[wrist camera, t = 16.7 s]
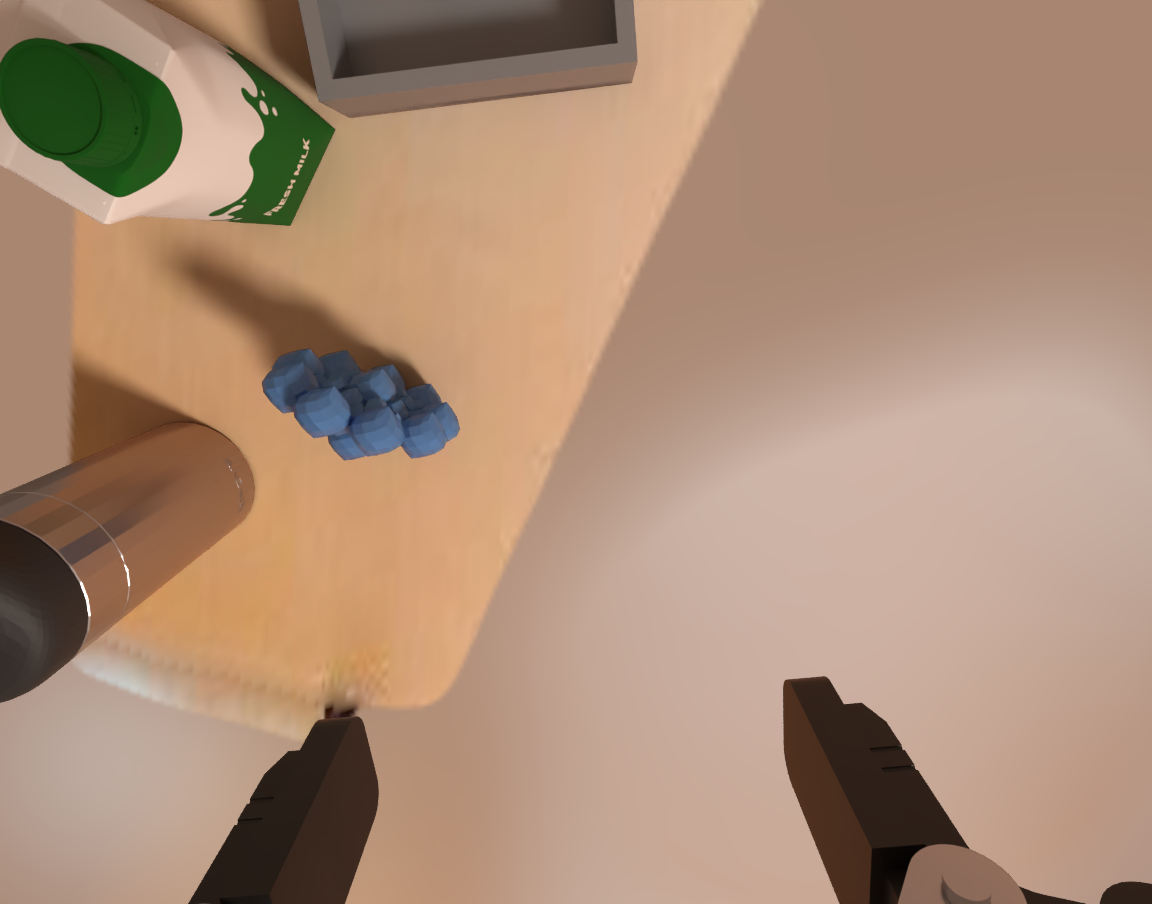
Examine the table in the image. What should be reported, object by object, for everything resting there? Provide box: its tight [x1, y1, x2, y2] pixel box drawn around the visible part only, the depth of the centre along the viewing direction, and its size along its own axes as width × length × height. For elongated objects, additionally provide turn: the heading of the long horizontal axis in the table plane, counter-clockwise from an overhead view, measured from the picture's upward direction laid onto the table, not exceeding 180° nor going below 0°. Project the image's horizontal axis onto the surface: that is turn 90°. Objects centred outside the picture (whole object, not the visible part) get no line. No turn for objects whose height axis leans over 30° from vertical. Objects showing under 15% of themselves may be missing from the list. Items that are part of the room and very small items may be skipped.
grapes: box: [262, 348, 460, 460], centre depth 41 cm, size 12×7×12 cm, turn 63°
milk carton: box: [0, 0, 335, 226], centre depth 32 cm, size 9×9×20 cm
